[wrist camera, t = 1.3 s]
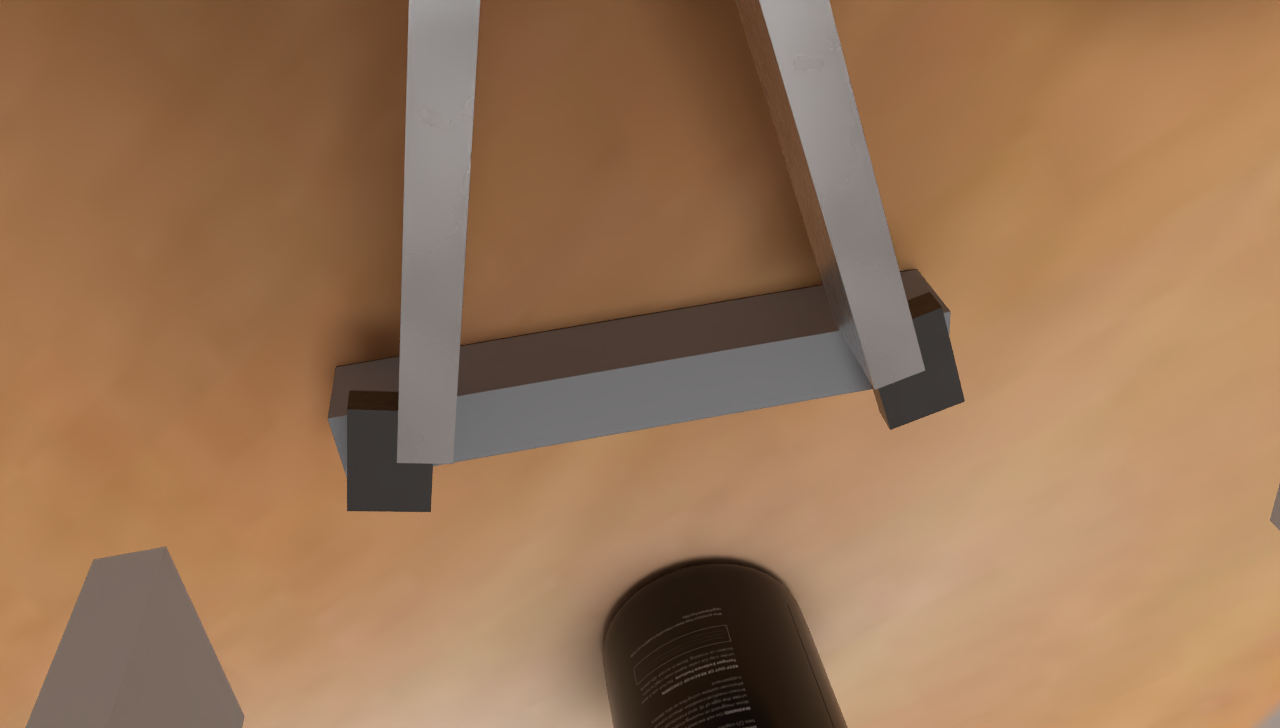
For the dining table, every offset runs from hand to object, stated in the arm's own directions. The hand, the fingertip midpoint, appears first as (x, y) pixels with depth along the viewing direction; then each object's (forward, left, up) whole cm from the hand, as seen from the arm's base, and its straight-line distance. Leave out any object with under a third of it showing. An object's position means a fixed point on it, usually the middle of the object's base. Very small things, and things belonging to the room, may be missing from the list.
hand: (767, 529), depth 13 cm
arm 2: (-1, +4, -13) cm, 14 cm away
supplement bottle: (+19, +1, -16) cm, 25 cm away
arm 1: (-1, -4, -13) cm, 14 cm away
